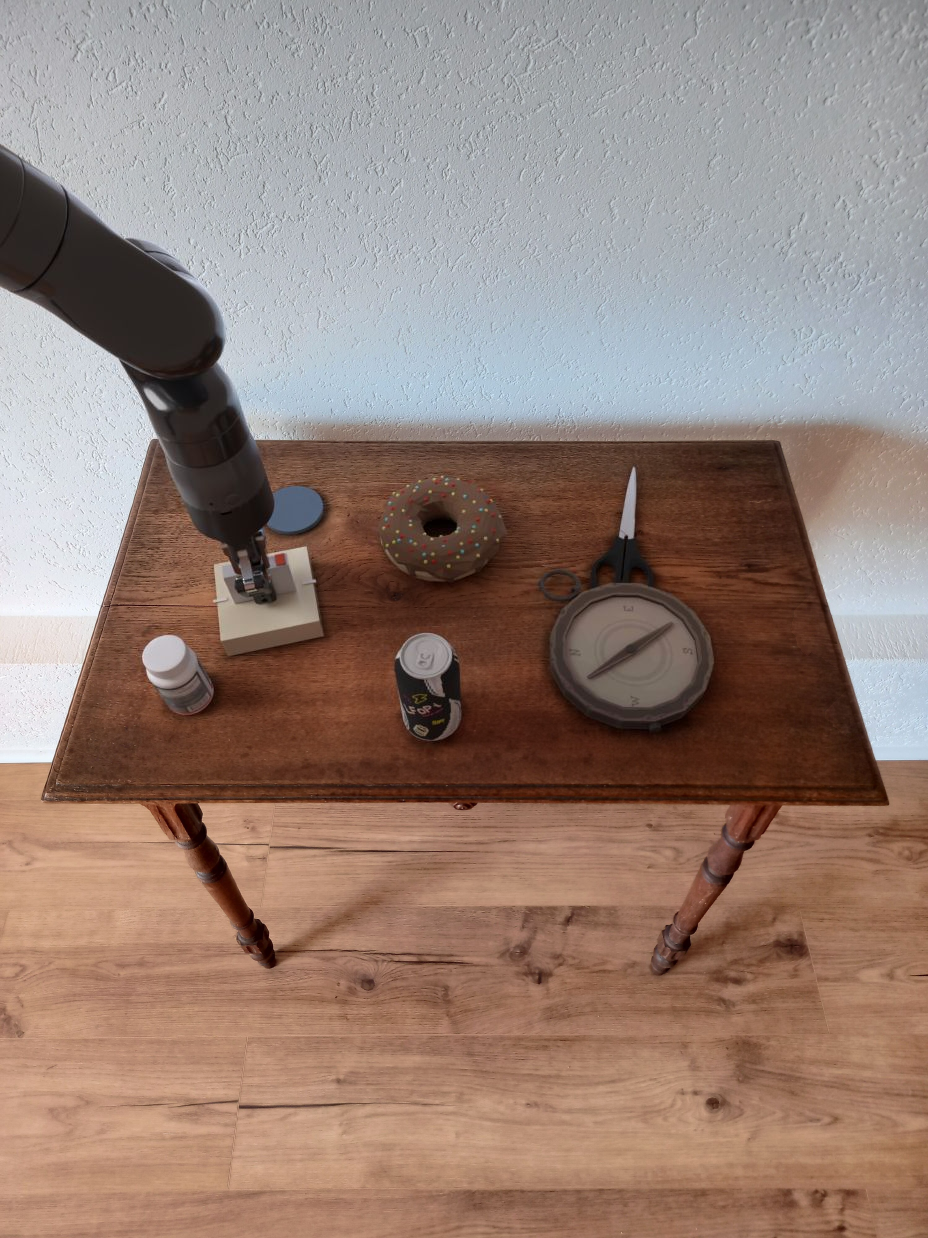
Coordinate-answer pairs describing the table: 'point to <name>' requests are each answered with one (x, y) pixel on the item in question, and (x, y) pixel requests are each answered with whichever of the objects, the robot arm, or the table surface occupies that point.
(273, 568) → the tap handle
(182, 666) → the pill bottle
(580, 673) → the compass
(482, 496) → the donut
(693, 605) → the table surface
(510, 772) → the table surface
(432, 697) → the beverage can
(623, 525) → the scissors
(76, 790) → the table surface
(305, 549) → the base
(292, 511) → the coaster
